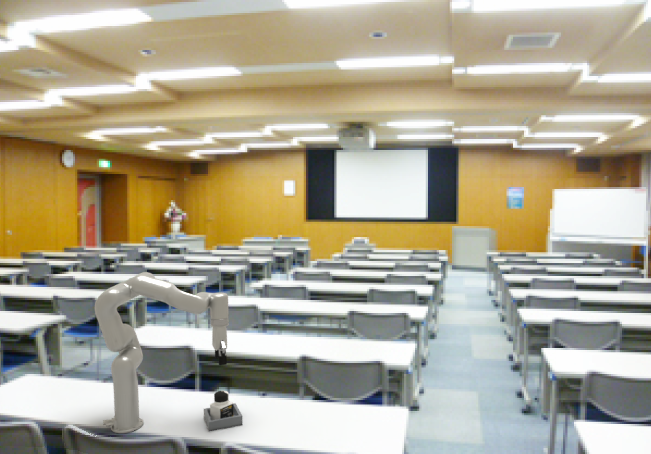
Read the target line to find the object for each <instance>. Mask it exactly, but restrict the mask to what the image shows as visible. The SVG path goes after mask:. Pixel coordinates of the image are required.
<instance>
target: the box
mask: <svg viewBox="0 0 651 454" xmlns="http://www.w3.org/2000/svg"><path fill="white" fill-rule="evenodd" d="M233 415H234V416H232V417H227V418H221V419H216V420H211V419H210V407H207V408H203V419H204V423H205V424H206V428H207V430H208V432H209V433H210V432H214V431H219V430H223V429H229V428H235V427H240V426H243V414H242V412H241V411H240V409H239V407H238V405H237V403H236V402H233Z"/></svg>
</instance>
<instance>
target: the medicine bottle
mask: <svg viewBox="0 0 651 454" xmlns="http://www.w3.org/2000/svg"><path fill="white" fill-rule="evenodd" d="M229 395H230V393H229V391H227V390H218V391H216V392H214V395H213V396H214V398H213V399H214V400H213V401H214V402H212V403H210V404H209V408H210V419H211V420H216V419H221V418H227V417H232V416H234V415H233V404H234V402H231V401H229V400H230V399H229V398H230V397H229Z"/></svg>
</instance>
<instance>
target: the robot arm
mask: <svg viewBox="0 0 651 454" xmlns="http://www.w3.org/2000/svg"><path fill="white" fill-rule="evenodd" d="M140 296H141V297H145V298H147V299H152V300H154V301H155V300H156V301H160V302H162V303H165V304H167V305H168V306H171V307H173V308H175V309H177V310H180V311H182V312H185V313H189V314H194V315H201V314H203V313H204V312H205V313H206V311H207V310H208V309H210V327H212V330H211V331H212V332H211V333H212V334H211V335H212V337H211V338H212V339H211V340H212V341H211V345H212V347H213V349H214V359H218V365H219V366H224V365H225V366H226V365H227V364H228V362H227V358H228V357H227V349H228V329H227V327H228V326H230V323H229V322H230V321H229V295H228V294H227V292H222V291H221V292H207V291H200V292H198V293H196V294H192V293H189V292H185V291H182V290H181V289H179V288H177V287H176V285H175V284H174V283H173V282H169V281H166V280H164V279H163V280H162V279H160V278H157V277H155V275H154V274H153V273H151V272H147V271H143V272H140V273H138V274H136V275H134V276H133V277H131V278H128V279H127V280H124V281H122V282H119V283H117V284H116V285H113V286H111V287H109V288H107V289H106V290H104V291H103V292H102V293H101V294H100V295H99V296H98V297H97V299H96V300H95V303H94V313H95V317H96V319H97V321H98V325H99V328H100V331H101V334H102V337H103V340H104V342H105V345H106V347H107V349H108V351H110V352H112V353H118V354H117V356H116V357H115V358H114V359H113V361H112V363H111V365H110V366H111V367H110V370H111V371H110V372H111V377H112V383H113V404H114V405H113V406H114V407H113V408H114V416H113V417H111V419H104V420H102V421H103V422H102V423H103V426H105V427H110V431H111V432H113V433H115V434H127V433H131V432H135V431H137V430H139V429H141V428H142V427H143V425H144V420H143V418H141V417H140V404H139V403H140V400H139V383H138V382H139V381H138V375H137V369H138V367H139V366H140V365H141V364H142V362H143V359H144V355H143V350H142V348H141V344H140V341H139V338H138V334H137V333H136V330H135V329H134V328H133V326H131V325H130V324H129V323H123V320H122V317H121V315H120V313H119V312H118V307H120V306H121V305H124V304H125V303H127V302H128V301H130V300H132V299H135V298H136V297H140ZM134 430H135V431H134Z"/></svg>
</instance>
